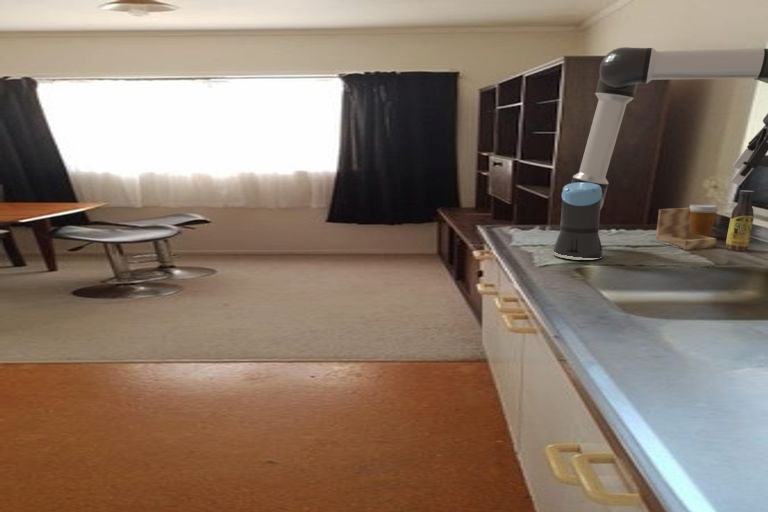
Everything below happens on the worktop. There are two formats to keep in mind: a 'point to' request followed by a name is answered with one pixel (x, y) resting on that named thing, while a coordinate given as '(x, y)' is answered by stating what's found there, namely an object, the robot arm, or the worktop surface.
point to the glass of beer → (702, 218)
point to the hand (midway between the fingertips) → (735, 175)
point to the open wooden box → (680, 230)
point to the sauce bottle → (741, 222)
